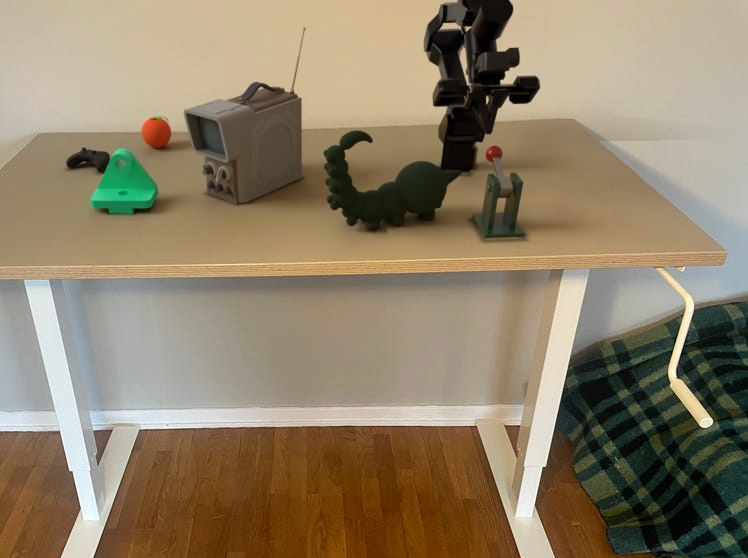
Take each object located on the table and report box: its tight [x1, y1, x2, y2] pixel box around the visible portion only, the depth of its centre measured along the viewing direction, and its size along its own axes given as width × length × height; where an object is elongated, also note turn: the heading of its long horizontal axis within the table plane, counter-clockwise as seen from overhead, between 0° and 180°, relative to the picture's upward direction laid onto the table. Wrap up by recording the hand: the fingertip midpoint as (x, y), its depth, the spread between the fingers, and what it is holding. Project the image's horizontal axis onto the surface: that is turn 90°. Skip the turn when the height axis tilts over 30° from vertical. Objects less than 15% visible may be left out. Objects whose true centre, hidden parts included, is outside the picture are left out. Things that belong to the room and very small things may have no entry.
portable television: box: [183, 26, 307, 205], centre depth 144 cm, size 12×24×30 cm, turn 137°
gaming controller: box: [65, 146, 111, 173], centre depth 164 cm, size 10×5×6 cm
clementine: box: [141, 115, 172, 149], centre depth 172 cm, size 8×7×7 cm
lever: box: [485, 145, 513, 199], centre depth 131 cm, size 11×3×3 cm, turn 2°
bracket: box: [471, 172, 525, 239], centre depth 131 cm, size 9×7×10 cm
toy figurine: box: [322, 129, 463, 231], centre depth 132 cm, size 9×19×25 cm
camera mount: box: [89, 147, 159, 214], centre depth 143 cm, size 12×8×10 cm, turn 86°
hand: (489, 133), depth 136 cm, fingers closed
